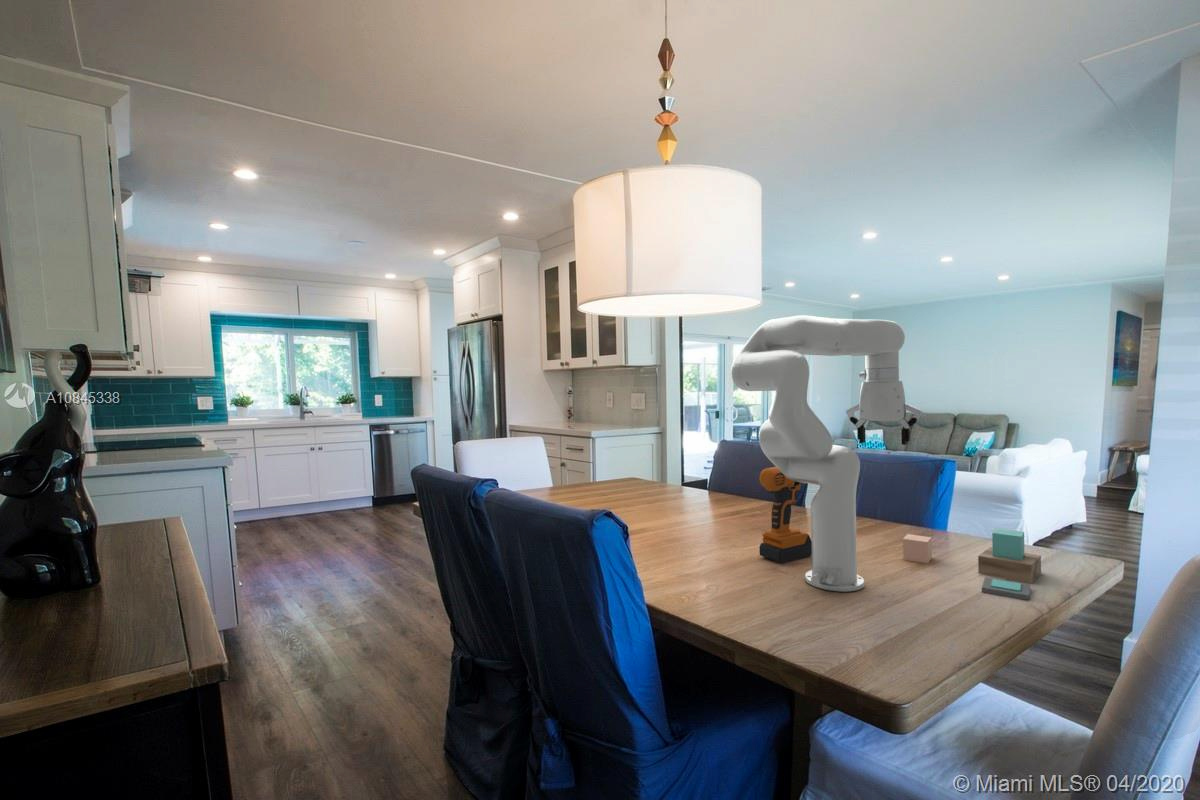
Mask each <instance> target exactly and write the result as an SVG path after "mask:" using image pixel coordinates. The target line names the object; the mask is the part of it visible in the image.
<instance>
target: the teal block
mask: <svg viewBox="0 0 1200 800" xmlns="http://www.w3.org/2000/svg"><path fill="white" fill-rule="evenodd" d="M991 536H992V539H991V540H992V547H993V556H996V557H1002V558H1009V559H1015V560H1022V559H1023V557H1024V553H1025V531H1021V530H1012V529H1007V528H1006V529H1004V528H998V527H996V528H995V529H994V530H993V531H992V535H991Z"/></svg>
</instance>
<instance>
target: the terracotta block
mask: <svg viewBox="0 0 1200 800" xmlns="http://www.w3.org/2000/svg"><path fill="white" fill-rule="evenodd" d="M932 547H933V546H932V537H931V536H923V535H917V534H908V533H907V534H906V535H905V536H904V537H903V538H902V551H903V552H902V554H903V555H902V558H903V561H909V562H914V563H915V562H916V563H921V564H929V563H930V561H931V560H932V558H933V556H932V555H933V554H932V552H933V551H932V549H933V548H932Z"/></svg>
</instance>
